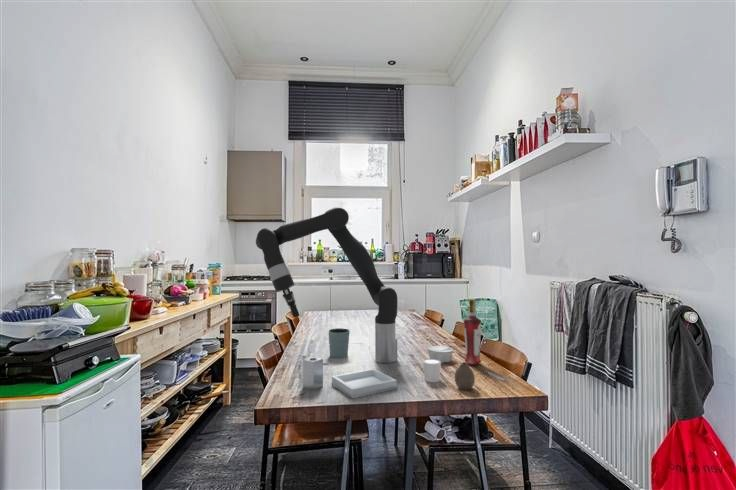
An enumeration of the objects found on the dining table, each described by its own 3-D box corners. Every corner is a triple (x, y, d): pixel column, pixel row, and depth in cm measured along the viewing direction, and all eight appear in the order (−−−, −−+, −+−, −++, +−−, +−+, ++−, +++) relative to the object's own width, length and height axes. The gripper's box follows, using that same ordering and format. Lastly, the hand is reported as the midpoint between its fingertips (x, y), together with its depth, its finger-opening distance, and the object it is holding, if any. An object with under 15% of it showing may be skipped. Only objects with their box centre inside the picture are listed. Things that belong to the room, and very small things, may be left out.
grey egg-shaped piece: (471, 393, 127) (471, 367, 127) (452, 389, 131) (451, 364, 131) (477, 387, 133) (476, 362, 133) (458, 383, 137) (458, 359, 137)
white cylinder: (430, 384, 136) (430, 364, 137) (419, 378, 142) (419, 360, 143) (445, 381, 140) (444, 362, 140) (433, 375, 146) (433, 357, 146)
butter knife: (499, 380, 140) (506, 378, 140) (461, 361, 166) (467, 361, 166) (499, 381, 140) (506, 380, 140) (462, 363, 166) (467, 362, 166)
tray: (373, 376, 145) (373, 368, 145) (396, 388, 132) (396, 380, 132) (331, 384, 136) (331, 376, 136) (352, 398, 122) (352, 389, 123)
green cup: (337, 351, 184) (337, 327, 184) (354, 354, 178) (353, 329, 178) (324, 356, 175) (324, 330, 176) (340, 359, 169) (340, 333, 170)
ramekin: (453, 364, 161) (453, 352, 162) (427, 363, 164) (427, 351, 164) (452, 357, 172) (452, 346, 173) (428, 356, 175) (428, 345, 175)
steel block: (312, 383, 137) (312, 356, 137) (322, 386, 134) (322, 358, 135) (303, 387, 133) (303, 359, 133) (313, 390, 130) (313, 361, 130)
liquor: (467, 360, 167) (467, 298, 168) (484, 363, 163) (483, 299, 164) (461, 364, 161) (460, 299, 162) (478, 367, 157) (477, 300, 158)
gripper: (289, 270, 138) (305, 311, 135) (291, 276, 151) (306, 313, 149) (269, 278, 136) (286, 319, 134) (273, 283, 150) (288, 320, 147)
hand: (296, 316), depth 141 cm, fingers open, 8 cm apart
